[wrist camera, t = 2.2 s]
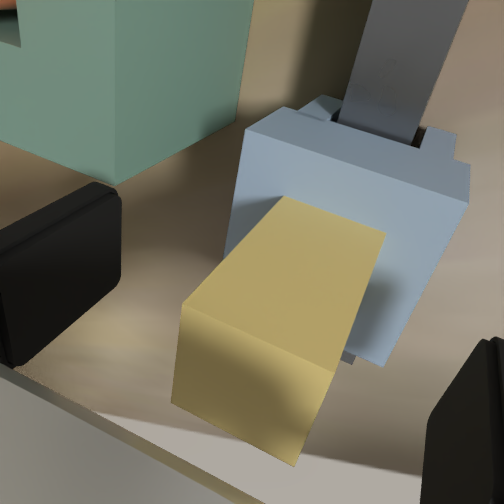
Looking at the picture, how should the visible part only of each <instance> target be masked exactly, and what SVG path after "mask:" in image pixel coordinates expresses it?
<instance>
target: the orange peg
mask: <svg viewBox="0 0 504 504" xmlns="http://www.w3.org/2000/svg"><path fill="white" fill-rule="evenodd" d="M9 9H17V5H16V0H0V10H9Z"/></svg>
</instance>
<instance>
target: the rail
mask: <svg viewBox="0 0 504 504" xmlns="http://www.w3.org/2000/svg"><path fill="white" fill-rule="evenodd" d="M468 2H469V0H373V1H372V5H371V8H370V12H369V15H368V19H367V22H366V25H365V29H364V32H363V36H362V39H361V42H360V46H359V49H358V53H357V56H356V60H355V63H354V66H353V70H352V73H351V77H350V80H349V83H348V87H347V90H346V94H345V97H344V100H343V104H342V107H341V111H340V114H339V118H338V121H337V123H338V124H341V125H345V126H348V127H351V128H354V129H357V130H361V131H364V132H367V133H370V134H373V135H377V136H380V137H383V138H386V139H389V140H393V141H396V142H399V143H402V144H406V145H409V146H411V144H412V141H413V139H414V136H415V134H416V131H417V129H418V126H419V124H420V121H421V119H422V116H423V114H424V111H425V109H426V106H427V104H428V101H429V99H430V96H431V94H432V91H433V89H434V86H435V84H436V81H437V79H438V76H439V74H440V71H441V69H442V66H443V64H444V61H445V59H446V57H447V54H448V52H449V49H450V47H451V44H452V42H453V39H454V37H455V34H456V32H457V29H458V27H459V24H460V22H461V19H462V17H463V14H464V12H465V9H466V7H467V4H468ZM355 357H356V355H354V354H351V353H349V352H347V351H344V350H343V352H342V355H341V358H340V360H342V361H344V362H347V363H349V364H351V365H352V364H353V361H354V359H355Z"/></svg>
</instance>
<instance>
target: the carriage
mask: <svg viewBox="0 0 504 504" xmlns="http://www.w3.org/2000/svg"><path fill="white" fill-rule="evenodd" d="M342 104H343V100H340V99H336V98H333V97H329V96H326V95H323V94H322V95H320V96H319V97H317V98H316V99H314V100H313V101H311V102H310V103H308V104H307V105H305V106H304V107H302V108H301V109H299V110H298V111H296V110H293V109H290V108H287V107H284V106H283V107H281V108H280V109H278V110H276V111H275V112H273V113H271V114H270V115H268V116H266V117H265V118H263V119H261V120H260V121H258V122H256V123H255V124H253V125H251V126H250V127H248V128H246V129H245V134H244V140H243V146H242V152H241V157H240V163H239V169H238V175H237V180H236V186H235V192H234V198H233V203H232V209H231V215H230V221H229V226H228V232H227V238H226V244H225V249H224V255H223V261H222V262H221V263H220V264H219V265H218V266H217V267H216V268H215V269H214V270H213V272H212V273H211V274H210V275H209V276H208V277H207V278H206V279H205V280H204V281H203V282H202V283H201V284H200V285H199V286H198V288H197V289H196V290H195V291H194V292H193V293H192V294H191V295H190V296H189V297H188V298H187V299H186V300H185V301H184V302H183V303H182V310H181V319H180V327H179V336H178V345H177V353H176V362H175V370H174V379H173V387H172V396H171V403H172V404H174V405H176V406H178V407H180V408H182V409H184V410H186V411H188V412H190V413H191V414H193V415H195V416H197V417H199V418H201V419H203V420H205V421H207V422H209V423H211V424H212V425H214V426H216V427H218V428H220V429H222V430H224V431H226V432H228V433H230V434H232V435H233V436H235V437H237V438H239V439H241V440H243V441H245V442H247V443H249V444H251V445H253V446H255V447H256V448H258V449H260V450H262V451H264V452H266V453H268V454H270V455H272V456H274V457H276V458H277V459H279V460H281V461H283V462H285V463H287V464H289V465H291V466H293V467H294V466H295V464H296V462H297V459H298V457H299V455H300V452H301V450H302V448H303V445H304V443H305V441H306V439H307V436H308V434H309V432H310V429H311V427H312V425H313V422H314V420H315V418H316V415H317V413H318V411H319V409H320V406H321V404H322V402H323V399H324V397H325V395H326V392H327V390H328V388H329V385H330V383H331V381H332V379H333V376H334V374H335V371H336V369H337V366H338V363H339V360H340V358H341V355H342V352H343V350H344V351H347V352H349V353H351V354H354V355H356V356H358V357H360V358H363V359H365V360H367V361H369V362H372V363H374V364H376V365H379V366H381V367H384V365H385V363H386V361H387V359H388V357H389V355H390V354H391V352H392V350H393V348H394V346H395V344H396V342H397V340H398V338H399V336H400V334H401V333H402V331H403V329H404V327H405V325H406V323H407V321H408V319H409V317H410V315H411V313H412V311H413V310H414V308H415V306H416V304H417V302H418V300H419V298H420V296H421V294H422V292H423V290H424V289H425V287H426V285H427V283H428V281H429V279H430V277H431V275H432V273H433V271H434V269H435V267H436V266H437V264H438V262H439V260H440V258H441V256H442V254H443V252H444V250H445V248H446V246H447V245H448V243H449V241H450V239H451V237H452V235H453V233H454V231H455V229H456V227H457V225H458V223H459V222H460V220H461V218H462V216H463V214H464V212H465V210H466V208H467V206H468V204H469V188H470V164H466V163H463V162H460V161H457V160H454V159H453V156H454V149H455V142H456V134H454V133H450V132H447V131H444V130H440V129H437V128H434V127H430V126H428V127H427V129H426V132H425V134H424V137H423V139H422V141H421V144H420V146H419V149H418V148H415V147H412V146H409V145H406V144H402V143H399V142H396V141H393V140H389V139H386V138H383V137H380V136H377V135H373V134H370V133H367V132H364V131H361V130H357V129H354V128H351V127H348V126H345V125H341V124H338V123H337V121H338V118H339V114H340V111H341V107H342Z"/></svg>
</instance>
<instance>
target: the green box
mask: <svg viewBox="0 0 504 504" xmlns="http://www.w3.org/2000/svg"><path fill="white" fill-rule="evenodd" d="M253 3H254V0H16V5H17V9H9V10H0V141H3V142H5V143H8V144H10V145H13V146H15V147H18V148H20V149H23V150H25V151H28V152H30V153H33V154H35V155H38V156H40V157H43V158H45V159H48V160H50V161H53V162H55V163H58V164H60V165H63V166H65V167H68V168H70V169H73V170H75V171H78V172H80V173H83V174H85V175H88V176H90V177H93V178H95V179H98V180H100V181H103V182H105V183H108V184H110V185H113V186H116V185H118V184H120V183H122V182H123V181H125V180H127V179H129V178H131V177H133V176H135V175H136V174H138V173H140V172H142V171H144V170H146V169H148V168H149V167H151V166H153V165H155V164H157V163H159V162H161V161H162V160H164V159H166V158H168V157H170V156H172V155H173V154H175V153H177V152H179V151H181V150H183V149H185V148H186V147H188V146H190V145H192V144H194V143H196V142H198V141H199V140H201V139H203V138H205V137H207V136H209V135H211V134H212V133H214V132H216V131H218V130H220V129H222V128H223V127H225V126H227V125H229V124H231V123H233V122H235V117H236V110H237V104H238V98H239V91H240V85H241V79H242V72H243V66H244V60H245V53H246V47H247V41H248V34H249V28H250V22H251V15H252V9H253Z"/></svg>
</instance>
